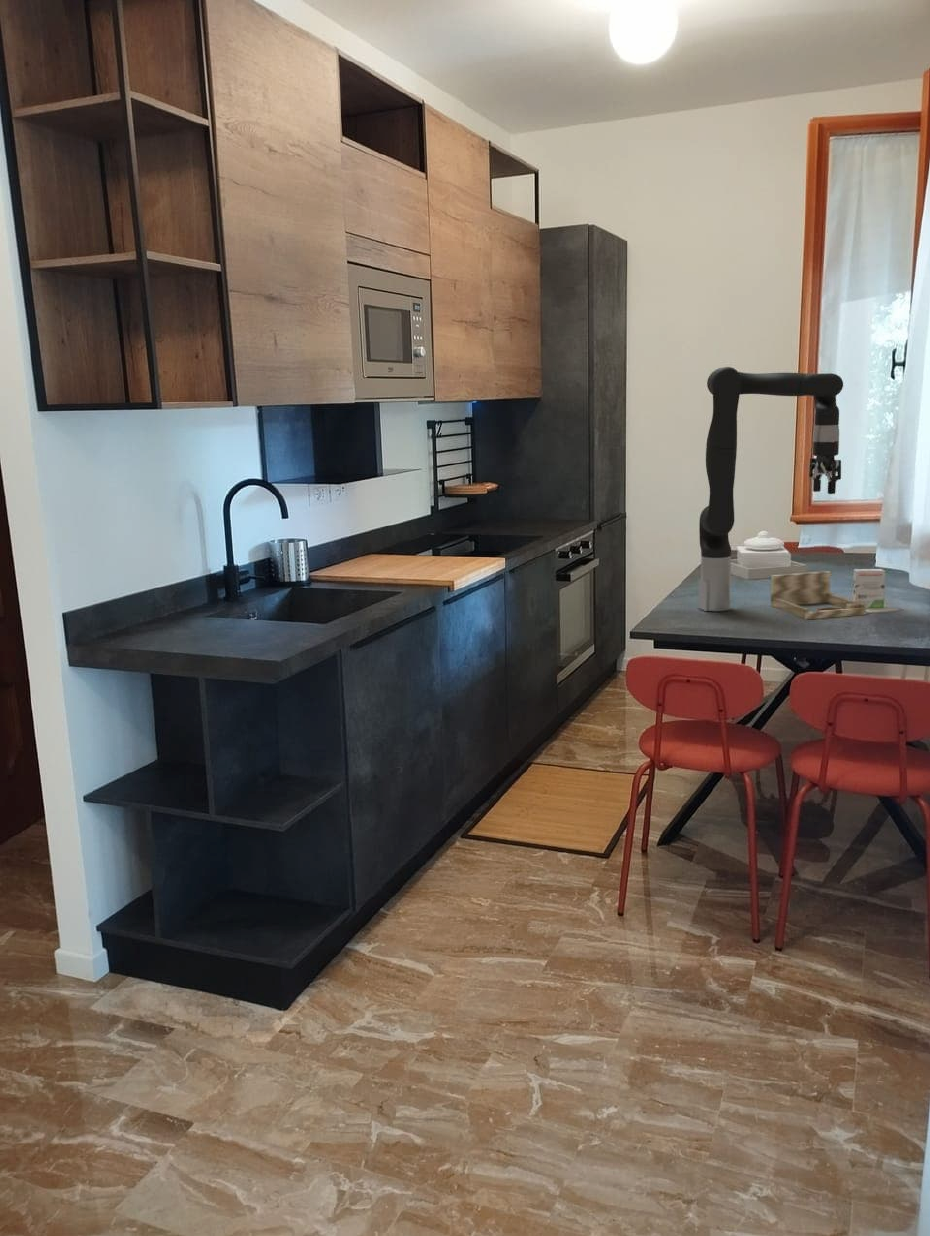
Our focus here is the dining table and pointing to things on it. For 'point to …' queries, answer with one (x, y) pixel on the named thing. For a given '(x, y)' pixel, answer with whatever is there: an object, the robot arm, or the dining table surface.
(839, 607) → the walnut offcut
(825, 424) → the robot arm
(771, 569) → the square grey tray
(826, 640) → the dining table surface
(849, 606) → the maple offcut
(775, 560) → the white lidded dish
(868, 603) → the ink box
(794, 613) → the rack
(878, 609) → the felt mat
